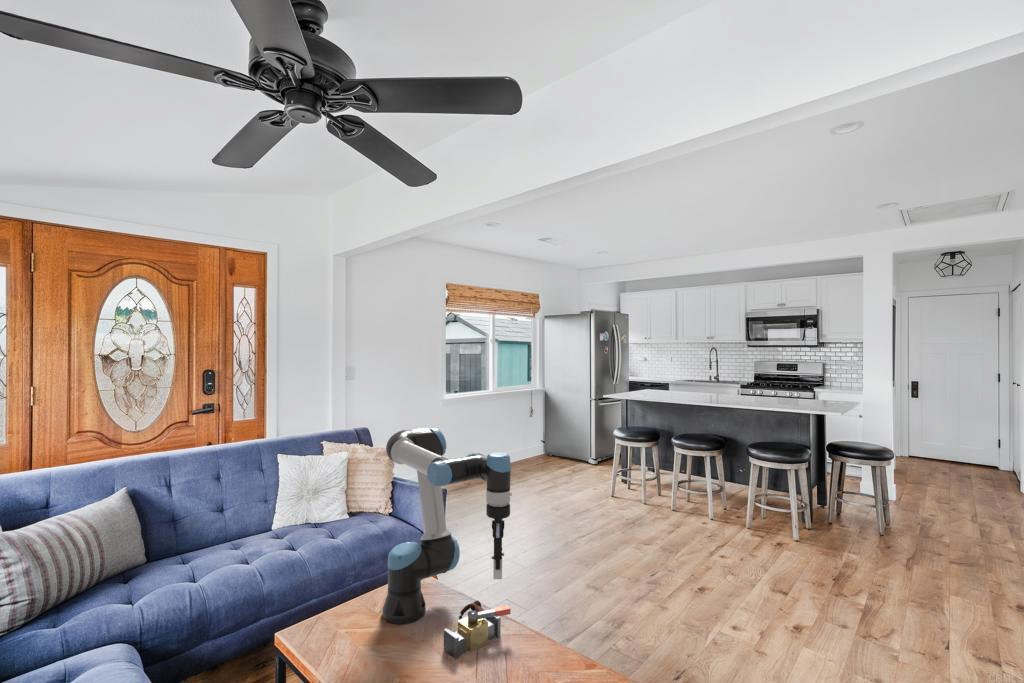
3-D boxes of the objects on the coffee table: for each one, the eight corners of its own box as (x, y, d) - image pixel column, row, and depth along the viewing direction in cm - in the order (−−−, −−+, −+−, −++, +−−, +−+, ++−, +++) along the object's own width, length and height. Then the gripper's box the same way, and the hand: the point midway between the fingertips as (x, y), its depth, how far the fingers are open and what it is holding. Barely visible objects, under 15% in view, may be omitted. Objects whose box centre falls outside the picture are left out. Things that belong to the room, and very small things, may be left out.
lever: (469, 624, 157) (469, 616, 157) (466, 618, 160) (466, 611, 160) (510, 615, 162) (511, 608, 162) (507, 610, 165) (507, 603, 165)
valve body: (443, 649, 156) (443, 627, 156) (487, 628, 168) (487, 607, 168) (456, 660, 150) (456, 636, 150) (501, 637, 162) (501, 615, 163)
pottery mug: (490, 635, 164) (478, 616, 163) (465, 645, 166) (453, 627, 164) (492, 607, 176) (481, 590, 175) (469, 617, 177) (458, 600, 176)
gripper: (510, 509, 150) (509, 588, 150) (510, 496, 163) (509, 569, 163) (485, 509, 150) (484, 588, 150) (487, 496, 163) (486, 568, 163)
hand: (497, 578), depth 156 cm, fingers closed
